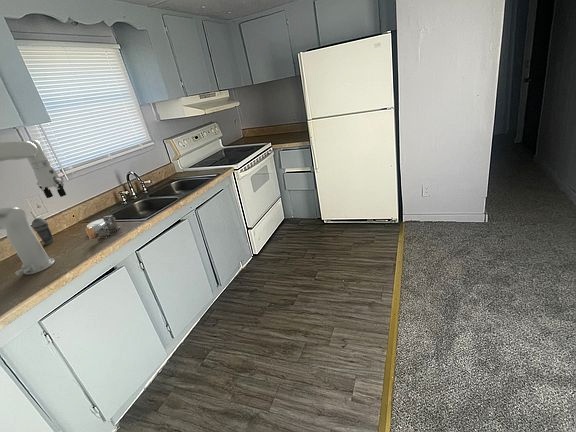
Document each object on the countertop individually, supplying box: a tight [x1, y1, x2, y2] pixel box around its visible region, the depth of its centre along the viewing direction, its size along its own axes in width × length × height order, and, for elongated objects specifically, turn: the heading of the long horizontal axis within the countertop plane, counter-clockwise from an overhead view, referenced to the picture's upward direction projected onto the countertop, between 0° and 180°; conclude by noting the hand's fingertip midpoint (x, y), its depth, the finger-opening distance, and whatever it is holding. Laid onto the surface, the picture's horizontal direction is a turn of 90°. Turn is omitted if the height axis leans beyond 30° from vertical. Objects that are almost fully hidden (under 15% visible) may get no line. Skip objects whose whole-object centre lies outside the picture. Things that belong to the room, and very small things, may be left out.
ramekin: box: [86, 218, 108, 235], centre depth 180 cm, size 11×11×5 cm
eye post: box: [102, 214, 121, 233], centre depth 175 cm, size 5×6×9 cm
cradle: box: [97, 229, 111, 240], centre depth 169 cm, size 4×5×5 cm
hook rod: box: [84, 217, 116, 241], centre depth 169 cm, size 20×4×6 cm, turn 171°
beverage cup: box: [30, 211, 55, 245], centre depth 173 cm, size 7×7×20 cm
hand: (56, 196), depth 160 cm, fingers open, 9 cm apart
